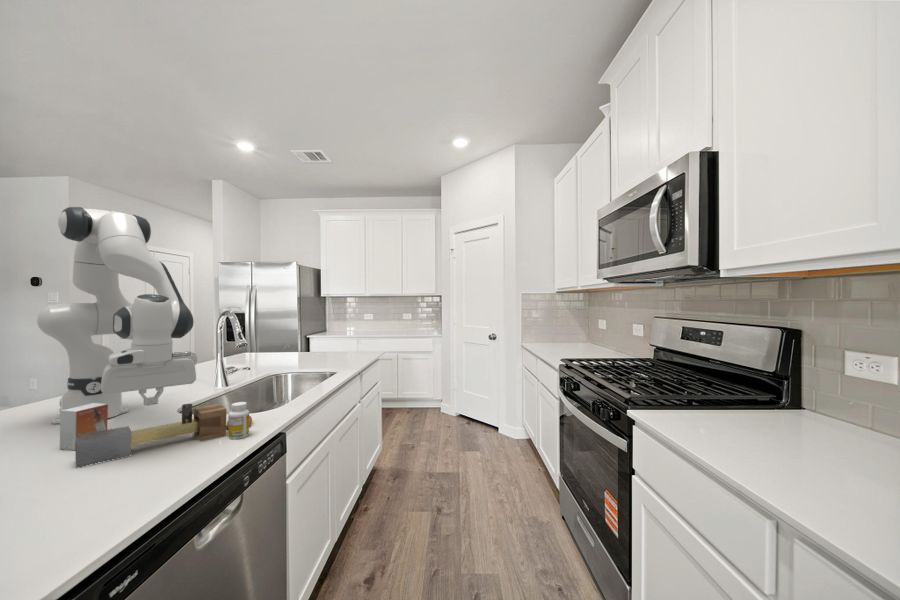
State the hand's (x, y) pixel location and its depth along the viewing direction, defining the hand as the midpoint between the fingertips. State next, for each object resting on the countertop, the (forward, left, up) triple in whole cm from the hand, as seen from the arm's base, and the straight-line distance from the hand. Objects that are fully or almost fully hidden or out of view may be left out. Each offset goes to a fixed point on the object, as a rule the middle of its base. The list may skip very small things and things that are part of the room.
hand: (150, 404), depth 101 cm
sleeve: (+1, -9, -12) cm, 15 cm away
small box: (-15, -12, -12) cm, 23 cm away
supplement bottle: (+8, +20, -12) cm, 24 cm away
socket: (+1, +14, -12) cm, 18 cm away
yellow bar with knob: (+1, +6, -10) cm, 11 cm away
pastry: (-2, +23, -12) cm, 26 cm away
